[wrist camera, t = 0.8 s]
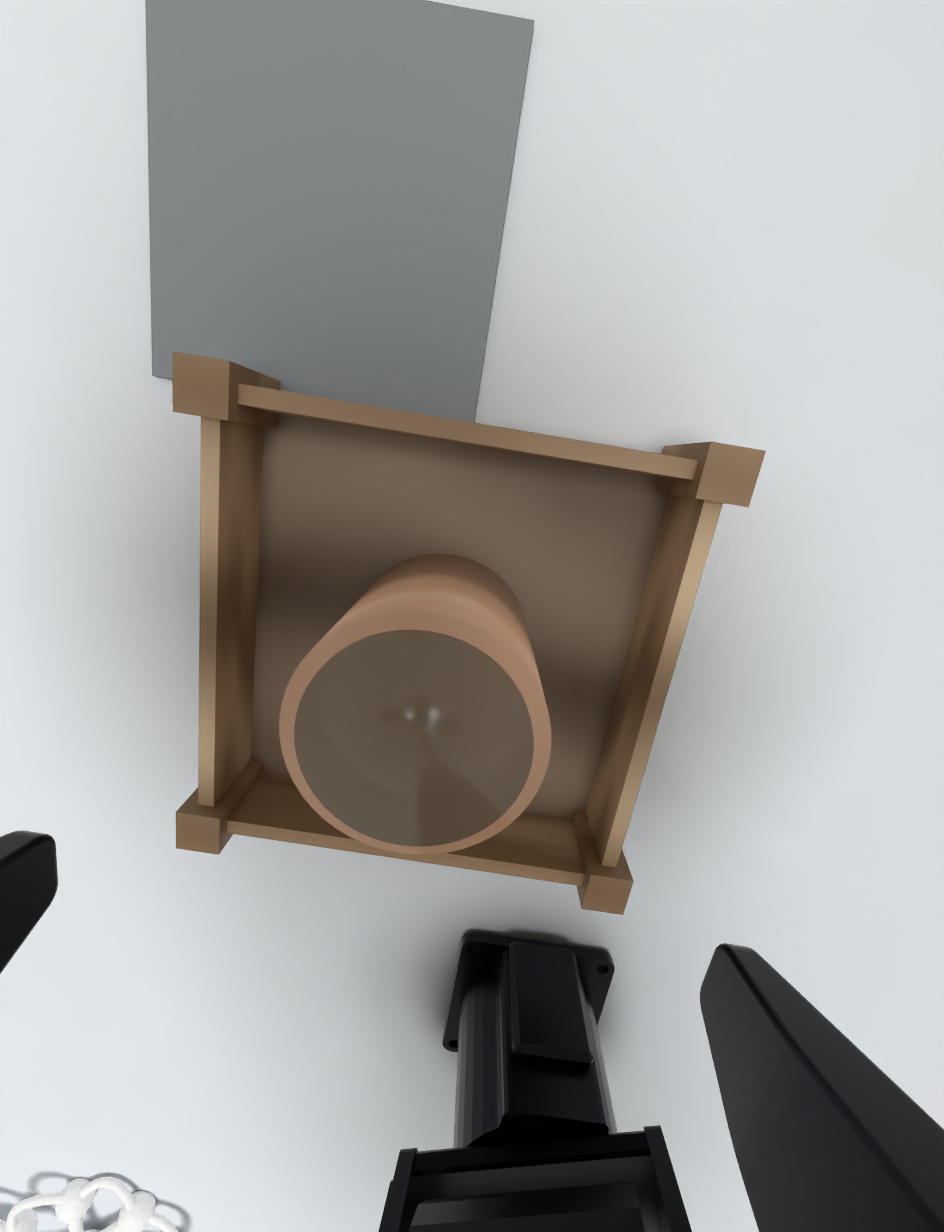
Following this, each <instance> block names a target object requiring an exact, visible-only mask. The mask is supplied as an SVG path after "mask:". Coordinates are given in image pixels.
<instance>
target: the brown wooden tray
mask: <svg viewBox="0 0 944 1232" xmlns="http://www.w3.org/2000/svg"><path fill="white" fill-rule="evenodd" d="M172 363H173V412H179V413H185V414H191V415H197V416H201V502H200V642H199V782H198V788H197V789H196V790H195V791H194V793H193V794H192V795H191V796H190V797H189V798H188V799H187V800H186V802H185V803H184V804H183V805H182V806H181V807H180V808H179V809H178V811H177V812H176V848H178V849H185V850H192V851H198V852H205V853H212V854H220V852H221V851H222V849H223V848H224V846H225V845H226V843H227V842H228V840H229V839H230V837H231V836H232V835H233V834H238V835H245V836H252V837H258V838H265V839H272V840H278V841H285V842H292V843H298V844H305V845H312V846H318V847H325V848H332V849H338V850H345V851H352V852H358V853H365V854H372V855H378V856H385V857H392V858H398V859H405V860H412V861H418V862H425V863H432V864H438V865H445V866H452V867H458V868H465V869H472V870H478V871H485V872H492V873H498V874H505V875H512V876H518V877H525V878H532V879H538V880H545V881H552V882H558V883H565V884H572V885H577V889H578V894H579V899H580V903H581V908H582V909H587V910H594V911H601V912H607V913H614V914H621V915H623V913H624V910H625V907H626V903H627V900H628V897H629V894H630V890H631V887H632V884H633V879H632V876H631V873H630V870H629V868H628V865H627V862H626V859H625V856H624V853H623V850H622V846H623V842H624V839H625V835H626V832H627V829H628V825H629V822H630V818H631V815H632V811H633V808H634V805H635V801H636V798H637V794H638V791H639V788H640V784H641V781H642V777H643V774H644V771H645V767H646V764H647V760H648V757H649V753H650V750H651V747H652V743H653V740H654V736H655V733H656V730H657V726H658V723H659V719H660V716H661V712H662V709H663V706H664V702H665V699H666V695H667V692H668V689H669V685H670V682H671V678H672V675H673V672H674V668H675V665H676V661H677V658H678V654H679V651H680V648H681V644H682V641H683V637H684V634H685V631H686V627H687V624H688V620H689V617H690V614H691V610H692V607H693V603H694V600H695V596H696V593H697V590H698V586H699V583H700V579H701V576H702V573H703V569H704V566H705V562H706V559H707V556H708V552H709V549H710V545H711V542H712V538H713V535H714V532H715V528H716V525H717V521H718V518H719V515H720V511H721V508H722V504H723V503H727V504H733V505H739V506H745V507H749V504H750V501H751V497H752V494H753V491H754V488H755V484H756V481H757V478H758V475H759V471H760V468H761V465H762V462H763V458H764V455H765V452H766V451H763V450H757V449H751V448H745V447H739V446H733V445H727V444H722V443H716V442H703V443H693V444H683V445H672V446H665V447H664V451H663V454H657V453H651V452H645V451H639V450H633V449H627V448H621V447H615V446H609V445H603V444H597V443H591V442H585V441H579V440H573V439H567V438H561V437H555V436H549V435H544V434H538V433H532V432H526V431H520V430H514V429H508V428H502V427H496V426H490V425H484V424H478V423H472V422H466V421H460V420H454V419H448V418H442V417H436V416H430V415H424V414H418V413H412V412H406V411H400V410H394V409H388V408H382V407H376V406H370V405H364V404H358V403H352V402H347V401H341V400H335V399H329V398H323V397H317V396H311V395H305V394H299V393H293V392H287V391H281V390H280V385H281V381H279V380H276V379H274V378H271V377H269V376H266V375H264V374H261V373H259V372H256V371H254V370H251V369H249V368H246V367H244V366H241V365H239V364H236V363H234V362H231V361H228V360H223V359H217V358H211V357H205V356H199V355H193V354H187V353H181V352H175V351H172ZM428 554H451V555H457V556H462V557H466V558H468V559H471V560H474V561H477V562H478V563H480V564H482V565H484V566H486V567H488V568H489V569H490V570H492V571H493V572H495V573H496V574H497V575H498V576H499V577H501V578H502V579H503V580H504V581H505V582H506V584H507V585H508V586H509V587H510V588H511V590H512V591H513V593H514V594H515V596H516V597H517V599H518V601H519V603H520V605H521V608H522V610H523V613H524V617H525V620H526V624H527V628H528V632H529V636H530V640H531V644H532V648H533V653H534V657H535V661H536V665H537V669H538V673H539V677H540V681H541V685H542V689H543V693H544V697H545V701H546V705H547V709H548V713H549V718H550V725H551V752H550V758H549V764H548V767H547V770H546V773H545V777H544V779H543V781H542V783H541V786H540V788H539V790H538V792H537V793H536V795H535V796H534V798H533V799H532V801H531V802H530V804H529V805H528V806H527V808H526V809H525V810H524V811H523V812H522V813H521V814H520V816H519V817H518V818H516V819H515V820H514V821H513V822H512V823H511V824H510V825H508V826H507V827H506V828H504V829H503V830H501V831H500V832H499V833H497V834H496V835H494V836H492V837H490V838H488V839H486V840H484V841H482V842H480V843H478V844H475V845H473V846H470V847H467V848H464V849H460V850H456V851H452V852H448V853H439V854H427V855H414V854H404V853H396V852H391V851H386V850H382V849H379V848H376V847H373V846H370V845H367V844H364V843H362V842H360V841H358V840H355V839H353V838H351V837H349V836H348V835H346V834H344V833H343V832H341V831H339V830H337V829H336V828H335V827H333V826H332V825H331V824H329V823H328V822H327V821H325V820H324V819H323V818H322V817H321V816H320V815H319V814H318V813H317V812H316V811H315V810H314V809H313V808H312V807H311V806H310V805H309V804H308V802H307V801H306V800H305V799H304V798H303V796H302V795H301V793H300V792H299V790H298V789H297V787H296V785H295V784H294V782H293V780H292V778H291V776H290V774H289V772H288V769H287V767H286V764H285V760H284V757H283V754H282V749H281V743H280V737H279V719H280V711H281V704H282V701H283V698H284V694H285V691H286V688H287V686H288V684H289V681H290V679H291V677H292V675H293V673H294V672H295V670H296V669H297V667H298V666H299V664H300V663H301V661H302V660H303V659H304V658H305V657H306V655H307V654H308V653H309V652H310V651H311V650H312V649H313V648H314V646H315V645H316V644H317V643H318V642H319V641H320V640H321V639H322V638H323V637H324V636H325V635H326V634H327V633H328V632H329V631H330V630H331V628H332V627H333V626H334V625H335V624H336V623H337V622H338V621H339V620H340V619H341V618H342V617H343V616H344V615H345V614H346V613H347V612H348V610H349V609H350V608H351V607H352V606H353V605H354V604H355V603H356V602H357V601H358V600H359V599H360V598H361V597H362V596H363V595H364V593H365V592H366V591H367V590H368V589H369V588H370V587H371V586H372V585H373V584H374V583H375V582H376V581H377V580H378V579H379V578H380V577H381V576H382V575H383V574H384V573H385V572H387V571H388V570H389V569H391V568H392V567H394V566H396V565H397V564H399V563H401V562H403V561H406V560H408V559H411V558H414V557H417V556H422V555H428Z"/></svg>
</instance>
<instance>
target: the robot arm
mask: <svg viewBox="0 0 944 1232" xmlns="http://www.w3.org/2000/svg"><path fill="white" fill-rule="evenodd" d="M57 886H58V874H57V859H56V845H55V841H54V839H53V838H52V836H50V835H48V834H42V833H36V832H30V831H15V832H12V833H9V834H7V835H4V836H2V837H0V974H1V972H2V971H3V969H4V968H5V967H6V965H7V964H8V963H9V961H10V960H11V958H12V957H13V956H14V954H15V953H16V951H17V950H18V949H19V947H20V946H21V944H22V943H23V942H24V940H25V939H26V938H27V936H28V935H29V933H30V932H31V931H32V929H33V928H34V926H35V925H36V924H37V922H38V921H39V920H40V918H41V917H42V915H43V914H44V913H45V911H46V910H47V908H48V907H49V905H50V904H51V902H52V900H53V898H54V896H55V894H56V891H57ZM613 973H614V964H613V960H612V957H611V955H609V954H608V953H606V952H603V951H596V950H589V949H582V948H576V947H569V946H562V945H555V944H549V943H542V942H535V941H528V940H522V939H515V938H508V937H501V936H494V935H488V934H481V933H468V934H466V935H465V936H464V937H463V938H462V941H461V946H460V951H459V956H458V961H457V967H456V972H455V977H454V982H453V987H452V992H451V997H450V1002H449V1007H448V1012H447V1017H446V1022H445V1027H444V1032H443V1046H444V1048H445V1049H447V1050H448V1051H452V1052H458V1061H457V1082H456V1103H455V1124H454V1145H453V1148H451V1149H440V1150H430V1151H419V1152H418V1150H417V1148H411V1149H401V1150H400V1153H399V1157H398V1161H397V1166H396V1170H395V1174H394V1178H393V1180H392V1181H391V1182H390V1186H389V1190H388V1194H387V1198H386V1203H385V1207H384V1211H383V1215H382V1220H381V1224H380V1228H379V1232H692V1231H691V1227H690V1224H689V1220H688V1217H687V1214H686V1210H685V1207H684V1204H683V1200H682V1197H681V1194H680V1190H679V1187H678V1183H677V1180H676V1177H675V1173H674V1170H673V1167H672V1163H671V1160H670V1157H669V1153H668V1150H667V1147H666V1143H665V1140H664V1136H663V1133H662V1130H661V1127H660V1125H657V1126H646V1127H644V1131H634V1132H623V1133H617V1128H616V1122H615V1117H614V1112H613V1107H612V1102H611V1097H610V1092H609V1087H608V1082H607V1077H606V1072H605V1066H604V1061H603V1056H602V1051H601V1046H600V1041H599V1036H598V1031H597V1024H598V1021H599V1018H600V1015H601V1012H602V1008H603V1005H604V1002H605V999H606V996H607V993H608V989H609V986H610V983H611V980H612V977H613ZM700 1004H701V1010H702V1014H703V1019H704V1023H705V1027H706V1032H707V1036H708V1040H709V1045H710V1049H711V1053H712V1058H713V1062H714V1066H715V1071H716V1075H717V1079H718V1084H719V1088H720V1092H721V1097H722V1101H723V1105H724V1110H725V1114H726V1118H727V1123H728V1127H729V1131H730V1135H731V1139H732V1143H733V1147H734V1151H735V1154H736V1158H737V1161H738V1164H739V1168H740V1171H741V1175H742V1178H743V1181H744V1185H745V1188H746V1191H747V1194H748V1197H749V1200H750V1204H751V1207H752V1210H753V1213H754V1216H755V1220H756V1223H757V1226H758V1229H759V1232H944V1129H943V1128H942V1127H941V1126H940V1125H939V1124H937V1123H936V1122H935V1121H934V1120H933V1119H932V1118H931V1117H930V1116H929V1115H928V1114H927V1113H926V1112H925V1111H924V1110H923V1109H922V1108H921V1107H920V1106H918V1105H917V1104H916V1103H915V1102H914V1101H913V1100H912V1099H911V1098H910V1097H909V1096H908V1095H907V1094H906V1093H905V1092H904V1091H903V1090H902V1089H900V1088H899V1087H898V1086H897V1085H896V1084H895V1083H894V1082H893V1081H892V1080H891V1079H890V1078H889V1077H888V1076H887V1075H886V1074H885V1073H884V1072H883V1071H881V1070H880V1069H879V1068H878V1067H877V1066H876V1065H875V1064H874V1063H873V1062H872V1061H871V1060H870V1059H869V1058H868V1057H867V1056H866V1055H865V1054H864V1053H862V1052H861V1051H860V1050H859V1049H858V1048H857V1047H856V1046H855V1045H854V1044H853V1043H852V1042H851V1041H850V1040H849V1039H848V1038H847V1037H846V1036H845V1035H843V1034H842V1033H841V1032H840V1031H839V1030H838V1029H837V1028H836V1027H835V1026H834V1025H833V1024H832V1023H831V1022H830V1021H829V1020H828V1019H827V1018H825V1017H824V1016H823V1015H822V1014H821V1013H820V1012H819V1011H818V1010H817V1009H816V1008H815V1007H814V1006H813V1005H812V1004H811V1003H810V1002H809V1001H808V1000H806V999H805V998H804V997H803V996H802V995H801V994H800V993H799V992H798V991H797V990H796V989H795V988H794V987H793V986H792V985H791V984H790V983H789V982H787V981H786V980H785V979H784V978H783V977H782V976H781V975H780V974H779V973H778V972H777V971H776V970H775V969H774V968H773V967H772V966H771V965H770V964H768V963H767V962H766V961H765V960H764V959H763V958H762V957H761V956H760V955H759V954H758V953H757V952H755V951H754V950H753V949H751V948H748V947H744V946H738V945H732V944H726V943H724V944H720V945H719V946H718V947H717V948H716V950H715V952H714V954H713V957H712V960H711V962H710V965H709V967H708V970H707V972H706V975H705V978H704V980H703V983H702V986H701V991H700Z"/></svg>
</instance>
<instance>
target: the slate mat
mask: <svg viewBox="0 0 944 1232" xmlns="http://www.w3.org/2000/svg"><path fill="white" fill-rule="evenodd" d="M533 27H534V20H530V19H524V18H519V17H513V16H508V15H502V14H497V13H491V12H486V11H481V10H475V9H470V8H464V7H459V6H453V5H448V4H442V3H437V2H432V1H426V0H146V52H147V107H148V163H149V218H150V274H151V330H152V376H156V377H162V378H168V379H173V363H172V351H175V352H181V353H187V354H193V355H199V356H205V357H211V358H217V359H223V360H228V361H231V362H234V363H236V364H239V365H241V366H244V367H246V368H249V369H251V370H254V371H256V372H259V373H261V374H264V375H266V376H269V377H271V378H274V379H276V380H279V381H281V385H280V390H281V391H287V392H293V393H299V394H305V395H311V396H317V397H323V398H329V399H335V400H341V401H347V402H352V403H358V404H364V405H370V406H376V407H382V408H388V409H394V410H400V411H406V412H412V413H418V414H424V415H430V416H436V417H442V418H448V419H454V420H460V421H466V422H472V423H474V420H475V413H476V407H477V400H478V393H479V387H480V380H481V373H482V367H483V360H484V353H485V347H486V340H487V333H488V327H489V320H490V313H491V307H492V300H493V294H494V287H495V280H496V274H497V267H498V260H499V254H500V247H501V240H502V234H503V227H504V220H505V214H506V207H507V200H508V194H509V187H510V180H511V174H512V167H513V160H514V154H515V147H516V140H517V134H518V127H519V121H520V114H521V107H522V101H523V94H524V87H525V81H526V74H527V67H528V61H529V54H530V47H531V41H532V34H533Z"/></svg>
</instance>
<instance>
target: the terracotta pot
mask: <svg viewBox="0 0 944 1232" xmlns="http://www.w3.org/2000/svg"><path fill="white" fill-rule="evenodd" d="M279 737H280V743H281V749H282V754H283V757H284V760H285V764H286V767H287V769H288V772H289V774H290V776H291V778H292V780H293V782H294V784H295V785H296V787H297V789H298V790H299V792H300V793H301V795H302V796H303V798H304V799H305V800H306V801H307V802H308V804H309V805H310V806H311V807H312V808H313V809H314V810H315V811H316V812H317V813H318V814H319V815H320V816H321V817H322V818H323V819H324V820H325V821H327V822H328V823H329V824H331V825H332V826H333V827H335V828H336V829H337V830H339V831H341V832H343V833H344V834H346V835H348V836H349V837H351V838H353V839H355V840H358V841H360V842H362V843H364V844H367V845H370V846H373V847H376V848H379V849H382V850H386V851H391V852H396V853H404V854H414V855H427V854H439V853H448V852H452V851H456V850H460V849H464V848H467V847H470V846H473V845H475V844H478V843H480V842H482V841H484V840H486V839H488V838H490V837H492V836H494V835H496V834H497V833H499V832H500V831H501V830H503V829H504V828H506V827H507V826H508V825H510V824H511V823H512V822H513V821H514V820H515V819H516V818H518V817H519V816H520V814H521V813H522V812H523V811H524V810H525V809H526V808H527V806H528V805H529V804H530V802H531V801H532V799H533V798H534V796H535V795H536V793H537V792H538V790H539V788H540V786H541V783H542V781H543V779H544V777H545V773H546V770H547V767H548V764H549V758H550V752H551V725H550V718H549V713H548V709H547V705H546V701H545V697H544V693H543V689H542V685H541V681H540V677H539V673H538V669H537V665H536V661H535V657H534V653H533V648H532V644H531V640H530V636H529V632H528V628H527V624H526V620H525V617H524V613H523V610H522V608H521V605H520V603H519V601H518V599H517V597H516V596H515V594H514V593H513V591H512V590H511V588H510V587H509V586H508V585H507V584H506V582H505V581H504V580H503V579H502V578H501V577H499V576H498V575H497V574H496V573H495V572H493V571H492V570H490V569H489V568H488V567H486V566H484V565H482V564H480V563H478V562H477V561H474V560H471V559H468V558H466V557H462V556H457V555H451V554H428V555H422V556H417V557H414V558H411V559H408V560H406V561H403V562H401V563H399V564H397V565H396V566H394V567H392V568H391V569H389V570H388V571H387V572H385V573H384V574H383V575H382V576H381V577H380V578H379V579H378V580H377V581H376V582H375V583H374V584H373V585H372V586H371V587H370V588H369V589H368V590H367V591H366V592H365V593H364V595H363V596H362V597H361V598H360V599H359V600H358V601H357V602H356V603H355V604H354V605H353V606H352V607H351V608H350V609H349V610H348V612H347V613H346V614H345V615H344V616H343V617H342V618H341V619H340V620H339V621H338V622H337V623H336V624H335V625H334V626H333V627H332V628H331V630H330V631H329V632H328V633H327V634H326V635H325V636H324V637H323V638H322V639H321V640H320V641H319V642H318V643H317V644H316V645H315V646H314V648H313V649H312V650H311V651H310V652H309V653H308V654H307V655H306V657H305V658H304V659H303V660H302V661H301V663H300V664H299V666H298V667H297V669H296V670H295V672H294V673H293V675H292V677H291V679H290V681H289V684H288V686H287V688H286V691H285V694H284V698H283V701H282V704H281V711H280V719H279Z"/></svg>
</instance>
